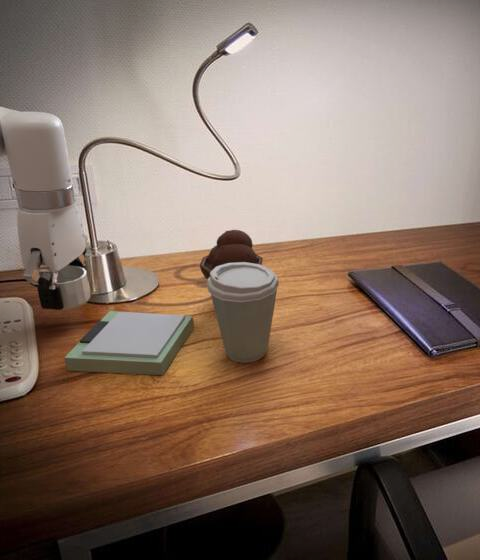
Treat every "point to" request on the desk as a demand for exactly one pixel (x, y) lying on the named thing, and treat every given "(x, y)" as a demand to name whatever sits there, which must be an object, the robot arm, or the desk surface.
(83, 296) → the bowl
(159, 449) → the desk surface
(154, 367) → the scale
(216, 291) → the disposable coffee cup
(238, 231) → the ice cream bowl
